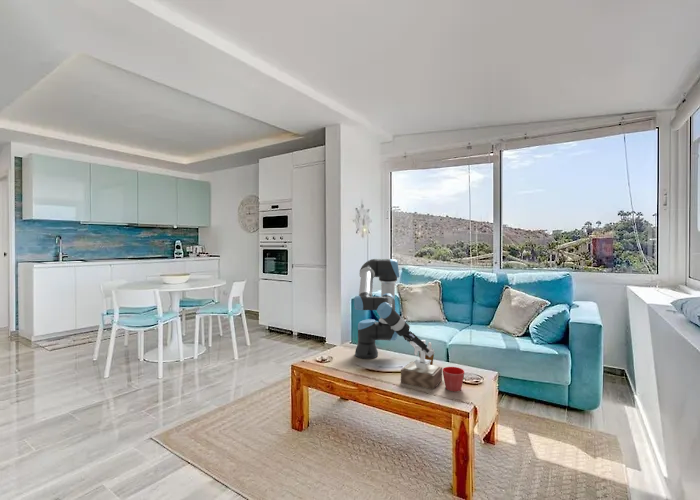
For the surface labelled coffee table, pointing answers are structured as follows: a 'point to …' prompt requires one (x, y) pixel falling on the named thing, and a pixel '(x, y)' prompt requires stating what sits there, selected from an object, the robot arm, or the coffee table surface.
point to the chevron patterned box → (421, 375)
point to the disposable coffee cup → (429, 357)
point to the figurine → (422, 356)
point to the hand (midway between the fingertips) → (424, 351)
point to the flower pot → (453, 378)
